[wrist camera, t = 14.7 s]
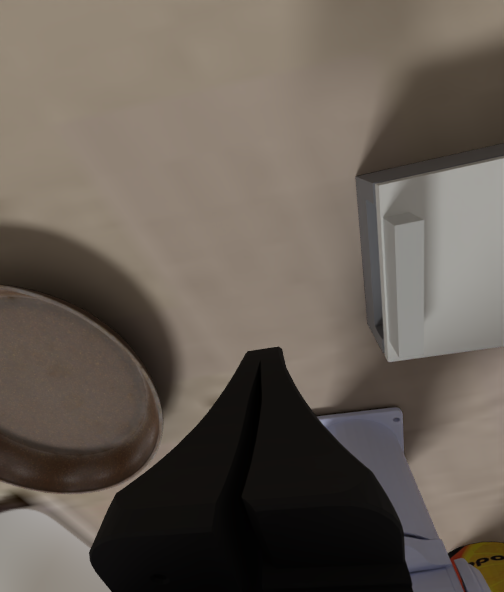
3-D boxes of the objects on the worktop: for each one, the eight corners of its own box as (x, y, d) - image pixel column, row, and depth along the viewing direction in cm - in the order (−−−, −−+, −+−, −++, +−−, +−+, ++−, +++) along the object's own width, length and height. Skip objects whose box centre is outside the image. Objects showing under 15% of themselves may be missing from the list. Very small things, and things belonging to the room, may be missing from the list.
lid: (562, 331, 18) (599, 355, 16) (384, 355, 19) (398, 380, 17) (606, 133, 13) (664, 131, 11) (375, 183, 15) (390, 190, 13)
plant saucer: (120, 243, 21) (95, 260, 18) (200, 453, 30) (193, 487, 27) (-131, 290, 24) (-189, 311, 21) (9, 469, 33) (-18, 502, 30)
